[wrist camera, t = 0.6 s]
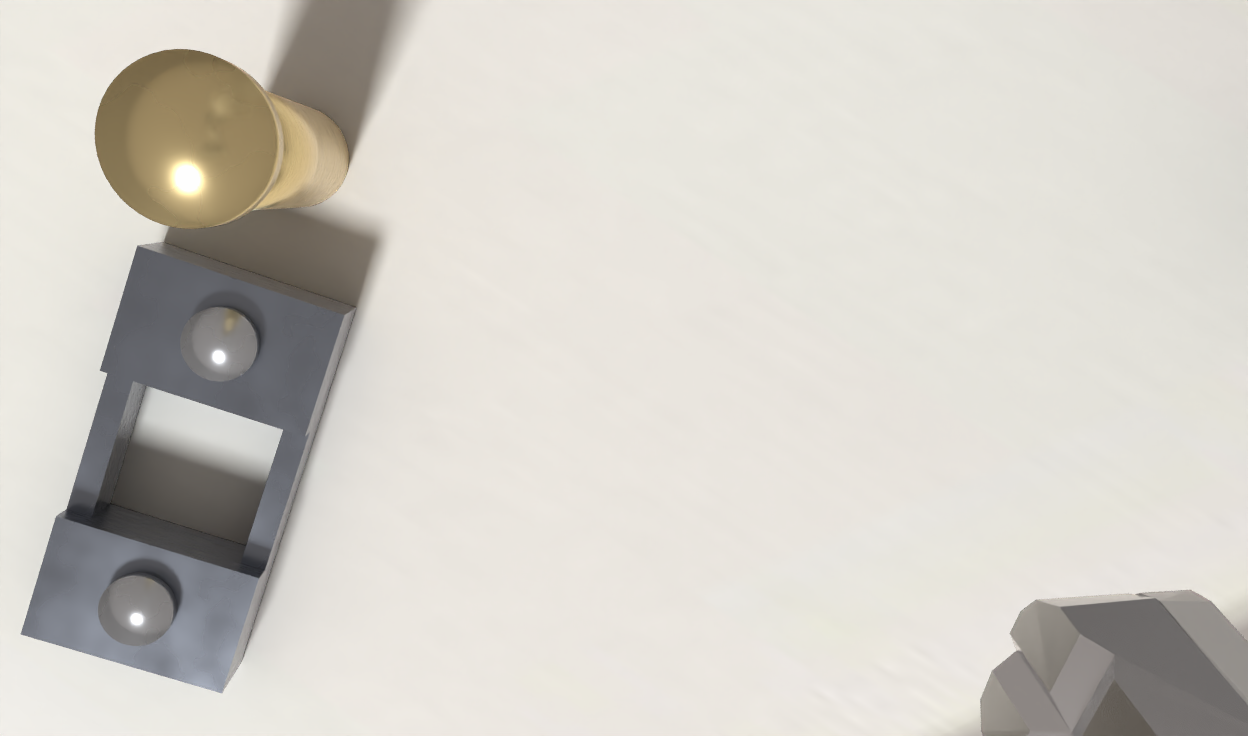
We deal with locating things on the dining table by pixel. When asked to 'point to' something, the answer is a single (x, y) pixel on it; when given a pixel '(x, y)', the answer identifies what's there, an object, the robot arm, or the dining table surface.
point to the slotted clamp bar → (160, 550)
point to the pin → (211, 143)
